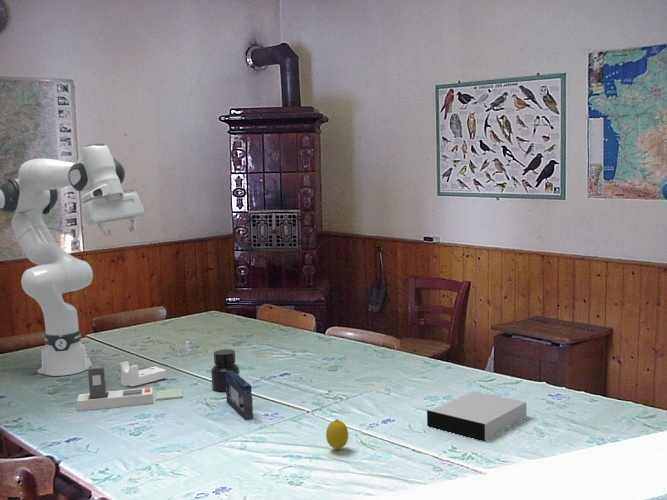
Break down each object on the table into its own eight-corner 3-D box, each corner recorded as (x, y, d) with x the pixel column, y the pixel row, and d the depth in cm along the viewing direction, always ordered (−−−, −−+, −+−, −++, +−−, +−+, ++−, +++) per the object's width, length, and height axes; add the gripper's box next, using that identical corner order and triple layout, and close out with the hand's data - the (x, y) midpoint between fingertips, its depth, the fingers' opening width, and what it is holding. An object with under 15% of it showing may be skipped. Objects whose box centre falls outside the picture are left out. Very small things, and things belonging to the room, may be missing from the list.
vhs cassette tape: (226, 402, 232) (224, 370, 231) (235, 401, 233) (234, 369, 232) (243, 421, 216) (241, 387, 214) (253, 419, 217) (252, 385, 215)
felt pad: (156, 392, 244) (156, 391, 244) (181, 390, 245) (181, 388, 245) (156, 400, 236) (156, 398, 236) (182, 398, 238) (182, 396, 237)
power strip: (77, 410, 229) (76, 399, 228) (79, 403, 235) (79, 392, 235) (152, 403, 233) (152, 392, 233) (153, 396, 240) (152, 385, 240)
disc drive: (427, 428, 206) (426, 410, 206) (472, 406, 223) (472, 389, 222) (483, 443, 194) (483, 424, 194) (527, 419, 211) (527, 401, 210)
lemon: (325, 446, 195) (324, 416, 194) (347, 445, 195) (346, 415, 194) (327, 455, 189) (326, 424, 188) (349, 453, 190) (348, 422, 189)
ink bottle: (246, 387, 246) (244, 351, 245) (225, 394, 240) (223, 357, 238) (227, 382, 253) (225, 346, 251) (205, 388, 246) (203, 352, 245)
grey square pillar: (91, 397, 235) (89, 365, 233) (106, 395, 236) (104, 364, 234) (90, 401, 230) (88, 369, 229) (105, 400, 231) (103, 368, 230)
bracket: (132, 389, 249) (130, 366, 248) (121, 385, 254) (120, 363, 253) (167, 380, 258) (165, 358, 257) (156, 376, 263) (154, 354, 262)
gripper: (130, 191, 253) (142, 230, 253) (75, 199, 238) (87, 241, 237) (140, 185, 249) (153, 225, 248) (85, 193, 234) (97, 236, 233)
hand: (120, 233), depth 243 cm, fingers open, 8 cm apart
